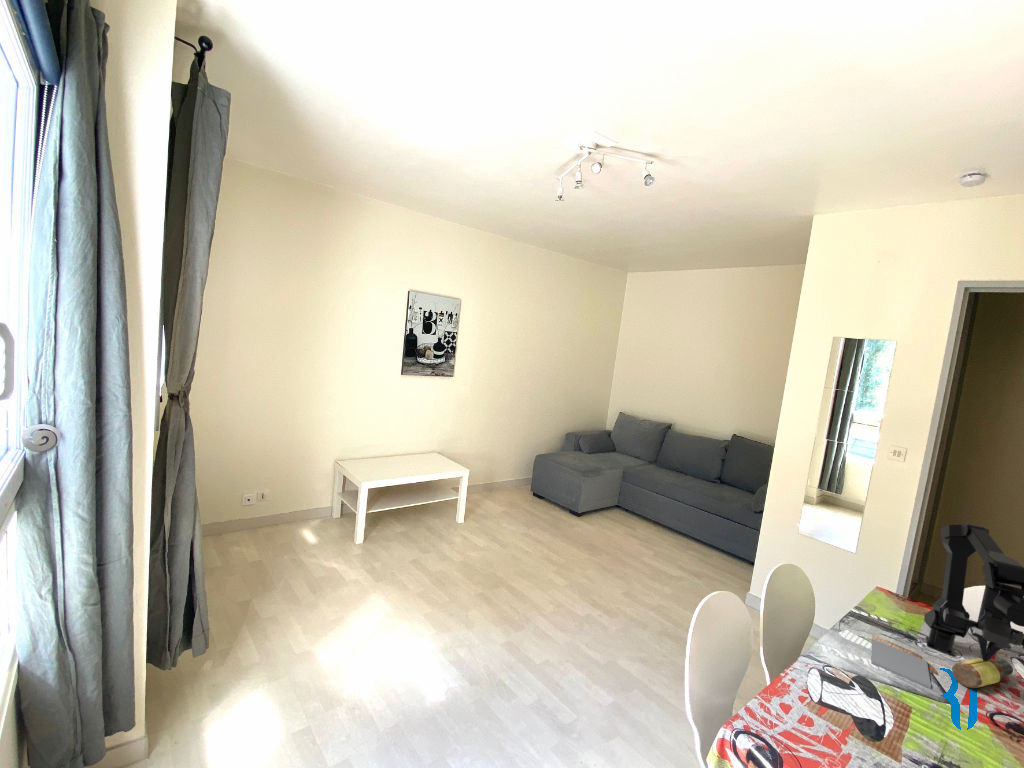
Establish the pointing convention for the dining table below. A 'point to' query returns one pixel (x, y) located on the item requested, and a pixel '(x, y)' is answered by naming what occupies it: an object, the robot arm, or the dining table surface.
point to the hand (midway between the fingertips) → (984, 660)
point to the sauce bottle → (981, 672)
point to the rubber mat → (900, 663)
